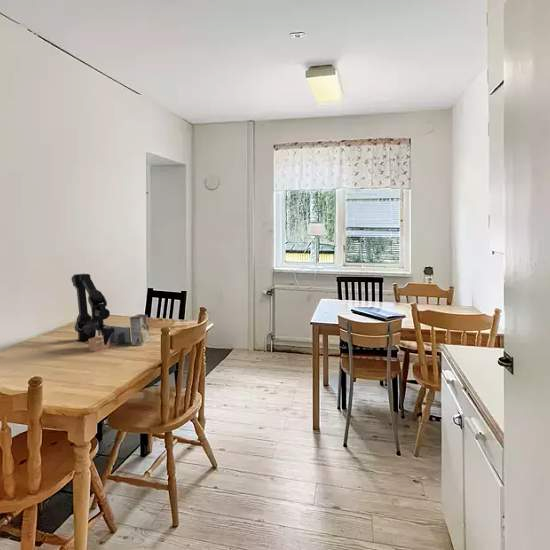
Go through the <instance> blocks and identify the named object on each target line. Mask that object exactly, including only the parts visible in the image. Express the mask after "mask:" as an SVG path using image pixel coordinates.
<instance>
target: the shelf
mask: <svg viewBox="0 0 550 550" xmlns="http://www.w3.org/2000/svg"><path fill="white" fill-rule="evenodd" d="M104 325H105V326H106V327H108V326H111V327H114V329H115V332H113V333H112V334H111V336H110V338H109V344H110V343H113V342H116V334H119V333H122V332H124V334H125V342H129V343H128V344H132V337H131V326H130V327H129V326H121V325H119V326H118V325H112V324H104ZM101 334H102V332H101V331H98V330H97V336H100V335H101Z"/></svg>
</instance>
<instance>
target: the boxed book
mask: <svg viewBox="0 0 550 550" xmlns="http://www.w3.org/2000/svg"><path fill="white" fill-rule="evenodd" d="M88 340H89V341H88V351H90V352H97V351H100V350H103V349H106V348H109V347H110V346H111V345H110V343H109V340H108V342H107V344H106V345H104V339H103V336H102V335H100V336H98V335H95V337H93V338H90V339H88Z"/></svg>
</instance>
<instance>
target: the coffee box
mask: <svg viewBox="0 0 550 550" xmlns="http://www.w3.org/2000/svg"><path fill="white" fill-rule="evenodd" d="M129 319H130V320H129V321H130V332H131V346H143V345H145V344H147V343H148V342H150V341H151V340H150V330H149V329H150V328H149V327H150V325H149V315H148V314H143V313H142V314H139V313H138V314H136V315H134V316H131V317H130V318H129Z"/></svg>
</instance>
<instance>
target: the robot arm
mask: <svg viewBox="0 0 550 550" xmlns="http://www.w3.org/2000/svg"><path fill="white" fill-rule="evenodd" d="M70 278H71V282H72V286H73V287H74V288H75V289H76V296H77V305H78V306H77V307H78V315H77V317H76V322H75V325H74V331H75V332H76V333H77V335H78V339H76V342H80V343H81V342H83V343H85V342H89V340H88V339H90V338H93V337H96V336H97V335H96V334H97V332H98V331H101V332H102V334H101V335H102V336H103V339H104V345H106V344H107V342H108V340H109V338H110V336H111V334H112V333H113V332H115V329H114V327H111V326H108V327H106V326H105V325H106V324H104V320H107V319H109V317H110V316H111V315H110V314H111V313H110V311H109V309H108V308H107V306H108V301H107V299H106V298H105V296H104V295H103V293H102V292H101V291H100V290H98V289H97V288H96V286H95V284H94V282H93V280H92V278H91V274H90V273H78V274H73V275H72V276H71V277H70ZM87 294H88V296H87ZM87 301H88V303H89V306H90V308H91V309H90V310H91V311H90V312H91V315H90V314H89V312H88V303H87Z"/></svg>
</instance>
